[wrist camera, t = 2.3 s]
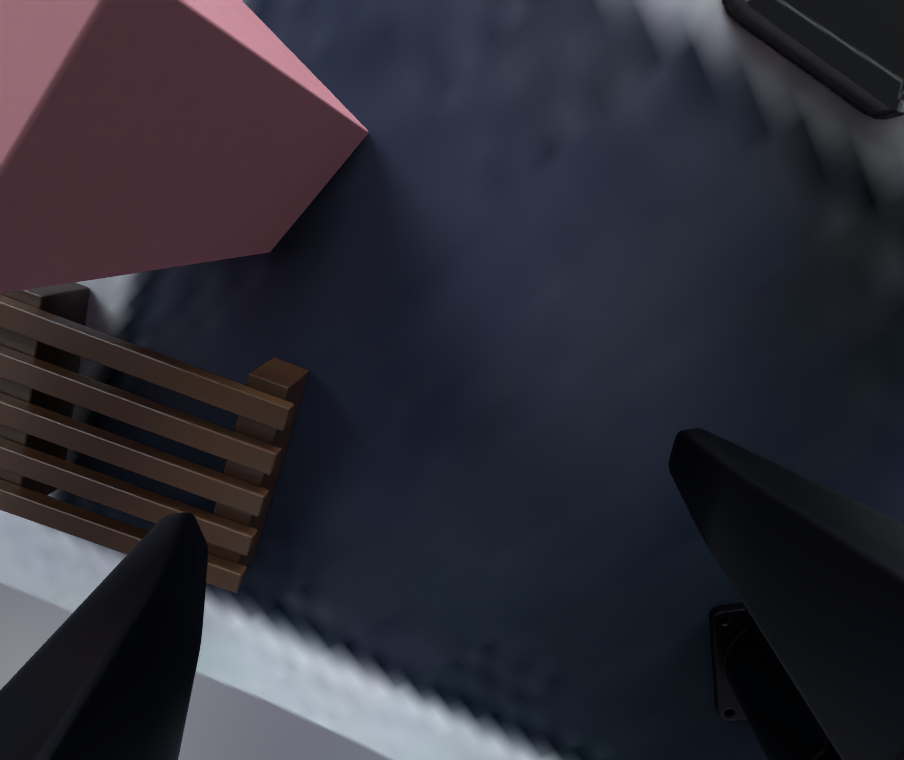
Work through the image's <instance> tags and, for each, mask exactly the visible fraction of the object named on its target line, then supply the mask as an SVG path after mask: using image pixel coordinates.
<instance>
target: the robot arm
mask: <svg viewBox="0 0 904 760" xmlns="http://www.w3.org/2000/svg"><path fill="white" fill-rule="evenodd" d="M669 470H670V473H671V476H672V478H673V480H674V482H675V484H676V486H677V488H678V490H679V492H680V494H681V496H682V498H683V500H684V502H685V504H686V506H687V508H688V510H689V512H690V514H691V516H692V518H693V520H694V522H695V524H696V526H697V528H698V530H699V532H700V534H701V536H702V537H703V539H704V541H705V543H706V545H707V546H708V548H709V550H710V551H711V553H712V554H713V556H714V558H715V559H716V561H717V562H718V564H719V566H720V567H721V569H722V570H723V572H724V573H725V575H726V577H727V578H728V580H729V581H730V583H731V585H732V586H733V588H734V589H735V591H736V592H737V594H738V596H739V597H740V599H741V600H742V602H743V603H740V604H730V605H721V606H717V607H714V608H713V609H712V610H711V611H710V613H709V622H710V636H711V650H712V664H713V678H714V692H715V706H716V709H717V711H718V714H719V716H720V717H721V718H722V719H723V720H726V721H735V720H747V719H748V721H749V723H750V725H751V727H752V729H753V731H754V733H755V735H756V737H757V739H758V741H759V743H760V745H761V747H762V749H763V751H764V752H765V754H766V756H767V758H768V760H904V524H903V523H901V522H899V521H897V520H895V519H893V518H891V517H888V516H886V515H884V514H882V513H880V512H878V511H876V510H874V509H871V508H869V507H867V506H865V505H863V504H861V503H859V502H857V501H854V500H852V499H850V498H848V497H846V496H844V495H842V494H840V493H837V492H835V491H833V490H831V489H829V488H827V487H825V486H823V485H820V484H818V483H816V482H814V481H812V480H810V479H808V478H806V477H803V476H801V475H799V474H797V473H795V472H793V471H791V470H789V469H786V468H784V467H782V466H780V465H778V464H776V463H774V462H772V461H769V460H767V459H765V458H763V457H761V456H759V455H757V454H755V453H752V452H750V451H748V450H746V449H744V448H742V447H740V446H738V445H735V444H733V443H731V442H729V441H727V440H725V439H723V438H720V437H718V436H716V435H714V434H712V433H710V432H708V431H706V430H703V429H701V428H693V429H687V430H682V431H679V432H678V434H677V435H676V437H675V441H674V444H673V448H672V452H671V455H670V459H669ZM207 566H208V546H207V542H206V540H205V538H204V535H203V533H202V531H201V529H200V527H199V524H198V522H197V520H196V518H195V516H194V515H193V514H192V513H191V512H181V513H175V514H169V515H166V516H164V517H163V518H162V519H161V520H160V521H159V522H158V523H157V524H156V525H155V526H154V527H153V528H152V529H151V530H150V531H149V532H148V533H147V535H146V536H145V537H144V538H143V539H142V540H141V541H140V542H139V543H138V544H137V545H136V546H135V547H134V548H133V549H132V551H131V552H130V553H129V554H128V555H127V556H126V557H125V558H124V559H123V560H122V561H121V562H120V563H119V564H118V565H117V567H116V568H115V569H114V570H113V571H112V572H111V573H110V574H109V575H108V576H107V577H106V578H105V579H104V580H103V581H102V583H101V584H100V585H99V586H98V587H97V588H96V589H95V590H94V591H93V592H92V593H91V594H90V595H89V596H88V597H87V599H86V600H85V601H84V602H83V603H82V604H81V605H80V606H79V607H78V608H77V609H76V610H75V611H74V612H73V613H72V614H71V616H70V617H69V618H68V619H67V620H66V621H65V622H64V623H63V624H62V625H61V626H60V627H59V628H58V629H57V631H56V632H55V633H54V634H53V635H52V636H51V637H50V638H49V639H48V640H47V641H46V643H44V644H43V645H42V647H41V648H40V649H39V650H38V651H37V652H36V653H35V654H34V655H33V656H32V657H31V658H30V659H29V661H27V662H26V664H25V665H24V666H23V667H22V668H21V669H20V670H19V671H18V672H17V673H16V674H15V675H14V676H13V677H12V679H11V680H10V681H9V682H8V683H7V684H6V685H5V686H4V687H3V688H2V689H1V690H0V760H178V757H179V752H180V747H181V742H182V737H183V732H184V727H185V722H186V716H187V712H188V707H189V702H190V697H191V692H192V687H193V681H194V676H195V672H196V667H197V662H198V657H199V651H200V645H201V637H202V627H203V615H204V603H205V590H206V578H207ZM724 616H725V617H724ZM721 617H724V618H722V619H720V618H721Z"/></svg>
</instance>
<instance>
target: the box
mask: <svg viewBox="0 0 904 760" xmlns="http://www.w3.org/2000/svg"><path fill="white" fill-rule="evenodd" d="M367 134H368V130H367V129H366V128H365V127H364V126H363V125H362V124H361V123H360V122H359V121H358V120H357V119H356V118H355V117H354V116H353V115H352V114H351V113H350V112H349V111H348V110H347V109H346V107H345V106H344V105H343V104H342V103H341V102H340V101H339V100H338V99H337V98H336V97H335V96H334V95H333V94H332V93H331V92H330V91H329V90H328V89H327V88H326V87H325V86H324V85H323V84H322V83H321V82H320V81H319V80H318V79H317V78H316V77H315V75H314V74H313V73H312V72H311V71H310V70H309V69H308V68H307V67H306V66H305V65H304V64H303V63H302V62H301V61H300V60H299V59H298V58H297V57H296V56H295V55H294V54H293V53H292V52H291V51H290V50H289V49H288V48H287V47H286V46H285V45H284V43H283V42H282V41H281V40H280V39H279V38H278V37H277V36H276V35H275V34H274V33H273V32H272V31H271V30H270V29H269V28H268V27H267V26H266V25H265V24H264V23H263V22H262V21H261V20H260V19H259V18H258V17H257V16H256V15H255V14H254V13H253V12H252V10H251V9H250V8H249V7H248V6H247V5H246V4H245V3H244V2H243V1H242V0H0V294H1V293H8V292H14V291H21V290H27V289H34V288H40V287H47V286H53V285H60V284H66V283H73V282H80V281H86V280H93V279H99V278H106V277H112V276H119V275H125V274H132V273H138V272H145V271H151V270H158V269H164V268H171V267H177V266H184V265H191V264H197V263H204V262H210V261H217V260H223V259H230V258H236V257H243V256H249V255H256V254H262V253H269V252H271V251H272V249H273V248H274V247H275V246H276V245H277V243H278V242H279V241H280V240H281V238H282V237H283V236H284V235H285V234H286V232H287V231H288V230H289V229H290V228H291V226H292V225H293V224H294V223H295V222H296V220H297V219H298V218H299V217H300V215H301V214H302V213H303V212H304V211H305V209H306V208H307V207H308V206H309V205H310V203H311V202H312V201H313V200H314V199H315V197H316V196H317V195H318V194H319V192H320V191H321V190H322V189H323V188H324V186H325V185H326V184H327V183H328V182H329V180H330V179H331V178H332V177H333V176H334V174H335V173H336V172H337V171H338V169H339V168H340V167H341V166H342V165H343V163H344V162H345V161H346V160H347V159H348V157H349V156H350V155H351V154H352V153H353V151H354V150H355V149H356V148H357V147H358V145H359V144H360V143H361V142H362V140H363V139H364V138H365V137H366V136H367Z"/></svg>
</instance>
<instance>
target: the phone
mask: <svg viewBox="0 0 904 760" xmlns="http://www.w3.org/2000/svg"><path fill="white" fill-rule="evenodd" d="M722 1H723V4H724V6H725V9H726V11H727V13H728V14H729V15H730V16H731V17H732V19H733V20H734V21H736V22H737V23H738V24H740V25H741V26H743V27H744V28H745V29H747V30H748V31H749V32H751V33H752V34H754V35H755V36H756V37H758V38H759V39H761V40H762V41H763V42H765V43H766V44H768V45H769V46H770V47H772V48H773V49H775V50H776V51H777V52H779V53H780V54H782V55H783V56H784V57H786V58H787V59H789V60H790V61H791V62H793V63H794V64H796V65H797V66H798V67H800V68H801V69H803V70H804V71H805V72H807V73H808V74H810V75H811V76H812V77H814V78H815V79H817V80H818V81H819V82H821V83H822V84H824V85H825V86H826V87H828V88H829V89H831V90H832V91H833V92H835V93H836V94H838V95H839V96H840V97H842V98H843V99H845V100H846V101H847V102H849V103H850V104H852V105H853V106H854V107H856V108H857V109H859V110H860V111H861V112H863V113H864V114H866V115H868V116H870V117H872V118H875V119H890V118H894V117H898V116H902V115H904V0H722Z"/></svg>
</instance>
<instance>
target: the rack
mask: <svg viewBox="0 0 904 760" xmlns="http://www.w3.org/2000/svg"><path fill="white" fill-rule="evenodd" d="M88 296H89V288H88V287H85V286H82V285H80V284H77V283H74V282H73V283H66V284H60V285H53V286H47V287H40V288H34V289H27V290H21V291H14V292H8V293H1V294H0V510H3V511H6V512H8V513H11V514H14V515H17V516H20V517H22V518H25V519H28V520H31V521H34V522H37V523H39V524H42V525H45V526H48V527H51V528H54V529H56V530H59V531H62V532H65V533H68V534H70V535H73V536H76V537H79V538H82V539H85V540H87V541H90V542H93V543H96V544H99V545H102V546H104V547H107V548H110V549H113V550H116V551H119V552H121V553H124V554H127V555H128V554H129V553H130V552H131V551H132V549H133V548H134V547H135V546H136V545H137V544H138V543H139V542H140V541H141V540H142V539H143V538H144V537H145V536H146V535H147V533H148V531H145V530H142V529H140V528H137V527H134V526H131V525H128V524H126V523H123V522H120V521H117V520H114V519H112V518H109V517H106V516H103V515H100V514H98V513H95V512H92V511H89V510H86V509H83V508H81V507H78V506H75V505H72V504H69V503H67V502H64V501H61V500H58V499H55V498H53V497H50V496H47V495H49V494H50V493H52V492H53V491H55V490H57V489H60V490H63V491H66V492H69V493H72V494H74V495H77V496H80V497H83V498H86V499H88V500H91V501H94V502H97V503H100V504H102V505H105V506H108V507H111V508H114V509H116V510H119V511H122V512H125V513H127V514H130V515H133V516H136V517H139V518H141V519H144V520H147V521H150V522H153V523H155V524H157V523H158V522H159V521H160V520H161V519H162V518H163V517H164V516H166V515H169V514H175V513H181V512H191V513H192V514H193V515H194V516H195V518H196V520H197V522H198V524H199V527H200V529H201V531H202V533H203V535H204V538H205V540H206V542H207V546H208V566H207V578H206V583H209V584H212V585H215V586H217V587H220V588H223V589H226V590H229V591H231V592H234V593H236V592H237V591H238V590H239V588H240V587H241V585H242V583H243V580H244V577H245V573H246V570H247V566H248V565H249V563H250V562H251V560H252V559H253V558H254V556H255V554H256V551H257V547H258V544H259V541H260V537H261V534H262V530H263V527H264V524H265V520H266V517H267V513H268V510H269V507H270V503H271V500H272V497H273V493H274V490H275V486H276V483H277V480H278V476H279V473H280V469H281V466H282V463H283V459H284V456H285V452H286V449H287V446H288V442H289V439H290V435H291V432H292V429H293V425H294V422H295V419H296V415H297V412H298V408H299V405H300V402H301V398H302V395H303V391H304V388H305V385H306V381H307V378H308V374H309V370H307V369H304V368H302V367H299V366H296V365H294V364H291V363H288V362H286V361H283V360H280V359H278V358H272V359H271V360H269V361H268V362H266V363H265V364H263V365H261V366H260V367H258V368H257V369H255V370H254V371H252V372H251V373H249V375H248V379H247V383H246V386H245V385H242V384H240V383H237V382H234V381H232V380H229V379H226V378H224V377H221V376H218V375H215V374H213V373H210V372H207V371H205V370H202V369H199V368H197V367H194V366H191V365H189V364H186V363H183V362H180V361H178V360H175V359H172V358H170V357H167V356H164V355H162V354H159V353H156V352H154V351H151V350H148V349H145V348H143V347H140V346H137V345H135V344H132V343H129V342H127V341H124V340H121V339H119V338H116V337H113V336H111V335H108V334H105V333H102V332H100V331H97V330H94V329H92V328H89V327H86V326H84V325H85V317H86V310H87V303H88ZM80 357H83V358H85V359H88V360H91V361H94V362H96V363H99V364H102V365H104V366H107V367H110V368H113V369H115V370H118V371H121V372H123V373H126V374H129V375H132V376H134V377H137V378H140V379H142V380H145V381H148V382H151V383H153V384H156V385H159V386H161V387H164V388H167V389H170V390H172V391H175V392H178V393H180V394H183V395H186V396H189V397H191V398H194V399H197V400H199V401H202V402H205V403H207V404H210V405H213V406H216V407H218V408H221V409H224V410H226V411H229V412H232V413H235V414H237V415H238V418H237V422H236V426H235V430H234V431H233V430H230V429H227V428H225V427H222V426H219V425H217V424H214V423H211V422H208V421H206V420H203V419H200V418H197V417H195V416H192V415H189V414H187V413H184V412H181V411H178V410H176V409H173V408H170V407H168V406H165V405H162V404H159V403H157V402H154V401H151V400H148V399H146V398H143V397H140V396H138V395H135V394H132V393H129V392H127V391H124V390H121V389H119V388H116V387H113V386H110V385H108V384H105V383H102V382H99V381H97V380H94V379H91V378H89V377H86V376H83V375H80V374H78V368H79V361H80ZM73 404H75V405H78V406H81V407H84V408H86V409H89V410H92V411H95V412H97V413H100V414H103V415H106V416H108V417H111V418H114V419H117V420H119V421H122V422H125V423H128V424H130V425H133V426H136V427H139V428H141V429H144V430H147V431H149V432H152V433H155V434H158V435H160V436H163V437H166V438H169V439H171V440H174V441H177V442H180V443H182V444H185V445H188V446H191V447H193V448H196V449H199V450H202V451H204V452H207V453H210V454H213V455H215V456H218V457H221V458H223V459H226V460H227V462H226V466H225V469H224V473H221V472H218V471H215V470H212V469H210V468H207V467H204V466H201V465H199V464H196V463H193V462H190V461H188V460H185V459H182V458H179V457H177V456H174V455H171V454H168V453H166V452H163V451H160V450H157V449H155V448H152V447H149V446H146V445H144V444H141V443H138V442H135V441H133V440H130V439H127V438H124V437H122V436H119V435H116V434H113V433H111V432H108V431H105V430H102V429H100V428H97V427H94V426H91V425H89V424H86V423H83V422H80V421H78V420H75V419H72V411H73ZM67 448H68V449H71V450H74V451H76V452H79V453H82V454H85V455H88V456H90V457H93V458H96V459H99V460H101V461H104V462H107V463H110V464H112V465H115V466H118V467H121V468H124V469H126V470H129V471H132V472H135V473H137V474H140V475H143V476H146V477H148V478H151V479H154V480H157V481H160V482H162V483H165V484H168V485H171V486H173V487H176V488H179V489H182V490H185V491H187V492H190V493H193V494H196V495H198V496H201V497H204V498H207V499H209V500H212V501H215V502H216V505H215V509H214V513H210V512H207V511H205V510H202V509H199V508H196V507H193V506H191V505H188V504H185V503H182V502H180V501H177V500H174V499H171V498H168V497H166V496H163V495H160V494H157V493H155V492H152V491H149V490H146V489H143V488H141V487H138V486H135V485H132V484H129V483H127V482H124V481H121V480H118V479H116V478H113V477H110V476H107V475H104V474H102V473H99V472H96V471H93V470H91V469H88V468H85V467H82V466H79V465H77V464H74V463H71V462H68V461H66V454H67Z"/></svg>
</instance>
